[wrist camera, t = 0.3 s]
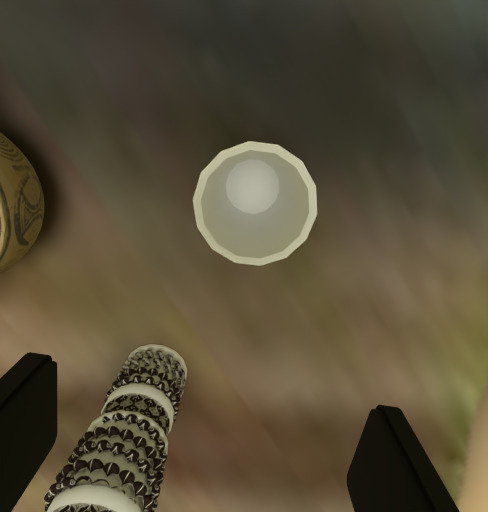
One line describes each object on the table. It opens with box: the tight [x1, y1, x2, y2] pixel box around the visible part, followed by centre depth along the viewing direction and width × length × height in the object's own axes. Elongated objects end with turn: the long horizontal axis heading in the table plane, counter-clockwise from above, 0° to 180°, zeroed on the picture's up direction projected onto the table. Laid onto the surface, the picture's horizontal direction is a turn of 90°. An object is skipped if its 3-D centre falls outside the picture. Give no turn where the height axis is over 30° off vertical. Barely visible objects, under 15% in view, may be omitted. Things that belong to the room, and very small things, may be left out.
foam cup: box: [193, 141, 317, 266], centre depth 32 cm, size 10×9×13 cm
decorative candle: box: [44, 344, 187, 512], centre depth 34 cm, size 9×9×25 cm
